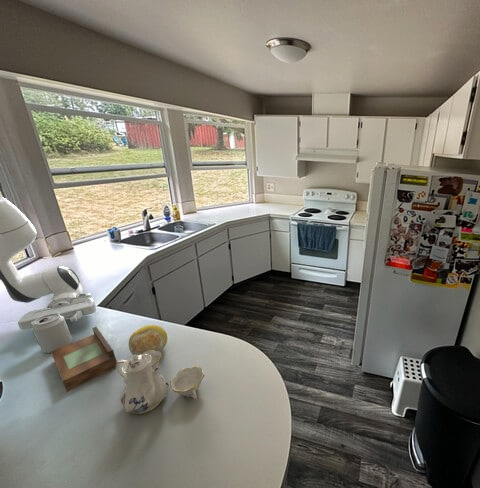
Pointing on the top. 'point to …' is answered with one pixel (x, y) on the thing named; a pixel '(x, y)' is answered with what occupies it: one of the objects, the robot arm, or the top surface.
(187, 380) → the chinaware
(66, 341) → the can
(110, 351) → the wooden box
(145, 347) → the fruit
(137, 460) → the top surface
